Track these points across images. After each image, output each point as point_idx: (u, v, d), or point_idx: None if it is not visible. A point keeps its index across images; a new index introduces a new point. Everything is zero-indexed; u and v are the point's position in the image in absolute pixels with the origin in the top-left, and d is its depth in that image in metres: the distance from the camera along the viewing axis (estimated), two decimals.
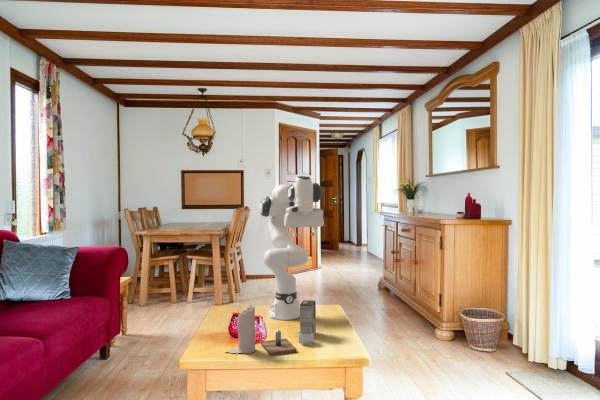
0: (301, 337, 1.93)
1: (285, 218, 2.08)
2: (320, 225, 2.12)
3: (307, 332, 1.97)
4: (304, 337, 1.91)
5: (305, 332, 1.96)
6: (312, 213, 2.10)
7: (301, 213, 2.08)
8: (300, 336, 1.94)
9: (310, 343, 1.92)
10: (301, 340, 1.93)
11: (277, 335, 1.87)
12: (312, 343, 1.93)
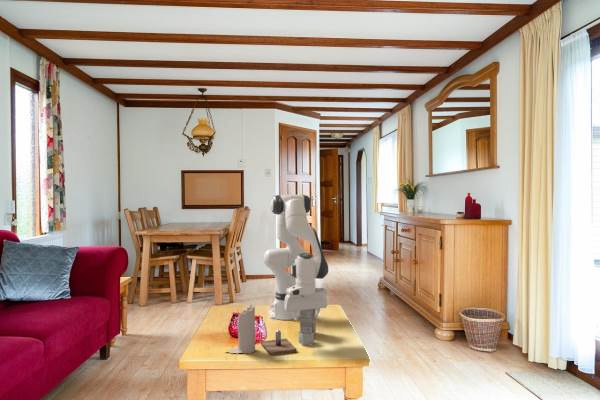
0: (301, 337, 1.93)
1: (285, 301, 1.91)
2: (323, 307, 1.96)
3: (307, 332, 1.97)
4: (304, 337, 1.91)
5: (305, 332, 1.96)
6: (315, 294, 1.94)
7: (303, 295, 1.92)
8: (300, 336, 1.94)
9: (310, 343, 1.92)
10: (301, 340, 1.93)
11: (277, 335, 1.87)
12: (312, 343, 1.93)
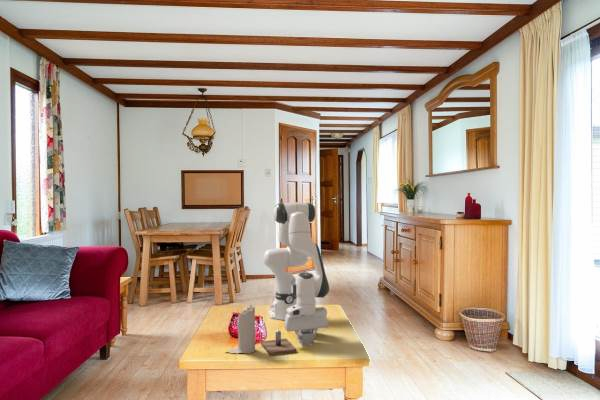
0: (301, 337, 1.93)
1: (285, 321, 1.91)
2: (323, 326, 1.96)
3: (307, 332, 1.97)
4: (304, 337, 1.91)
5: (305, 332, 1.96)
6: (315, 314, 1.94)
7: (303, 315, 1.92)
8: None
9: (310, 343, 1.92)
10: (301, 340, 1.93)
11: (277, 335, 1.87)
12: (312, 343, 1.93)
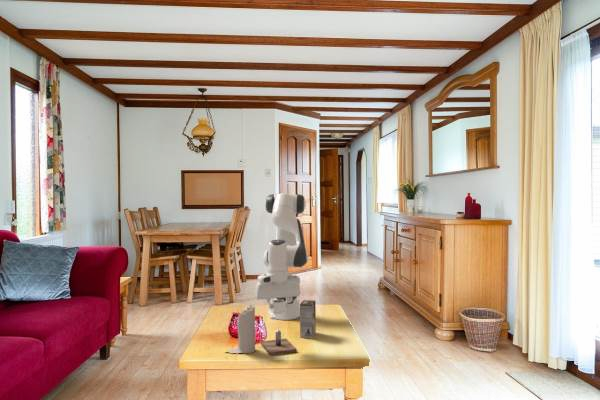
0: None
1: (256, 288, 1.85)
2: (296, 295, 1.89)
3: (279, 301, 1.90)
4: (275, 305, 1.85)
5: (277, 301, 1.90)
6: (287, 282, 1.88)
7: (274, 283, 1.85)
8: None
9: (282, 312, 1.86)
10: (272, 309, 1.86)
11: (277, 335, 1.87)
12: (284, 312, 1.86)
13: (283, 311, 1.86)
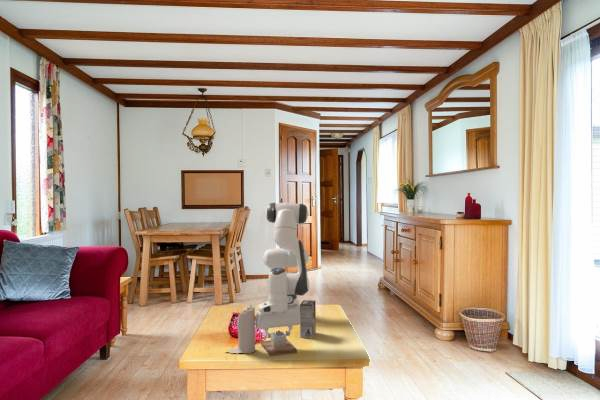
0: (273, 339, 1.86)
1: (256, 318, 1.85)
2: (296, 323, 1.89)
3: None
4: (275, 339, 1.85)
5: None
6: (287, 311, 1.88)
7: (274, 312, 1.85)
8: (272, 338, 1.87)
9: (282, 345, 1.86)
10: (273, 342, 1.86)
11: None
12: (284, 345, 1.86)
13: (283, 344, 1.86)
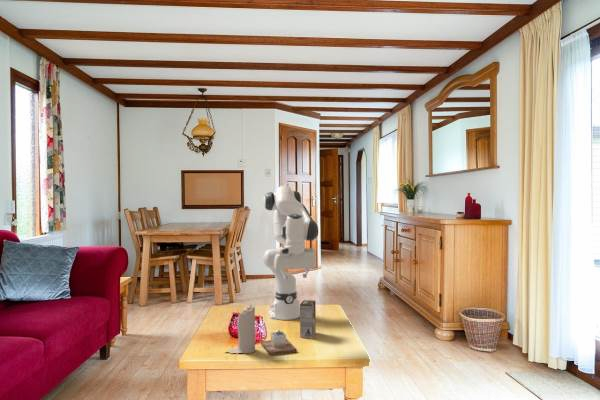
0: (273, 339, 1.86)
1: (275, 260, 1.96)
2: (312, 266, 2.00)
3: None
4: (275, 339, 1.85)
5: None
6: (304, 254, 1.99)
7: (292, 254, 1.96)
8: (272, 338, 1.87)
9: (282, 345, 1.86)
10: (273, 342, 1.86)
11: None
12: (284, 345, 1.86)
13: (283, 344, 1.86)
